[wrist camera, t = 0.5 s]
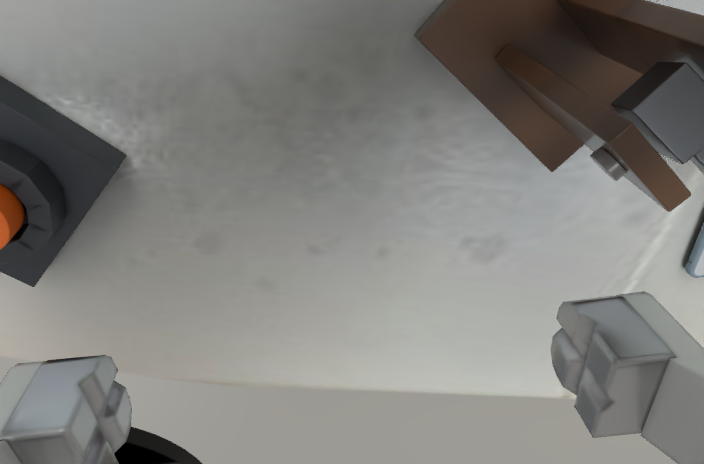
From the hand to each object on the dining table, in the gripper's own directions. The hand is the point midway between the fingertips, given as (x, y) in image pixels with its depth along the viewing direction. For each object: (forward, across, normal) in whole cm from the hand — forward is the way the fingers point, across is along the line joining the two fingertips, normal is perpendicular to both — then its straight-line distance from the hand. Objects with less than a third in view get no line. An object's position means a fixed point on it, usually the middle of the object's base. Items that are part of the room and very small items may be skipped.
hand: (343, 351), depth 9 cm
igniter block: (+21, -17, -5) cm, 28 cm away
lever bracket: (+21, +13, 0) cm, 25 cm away
